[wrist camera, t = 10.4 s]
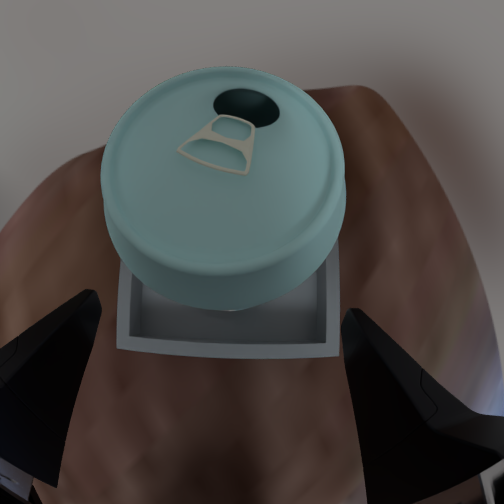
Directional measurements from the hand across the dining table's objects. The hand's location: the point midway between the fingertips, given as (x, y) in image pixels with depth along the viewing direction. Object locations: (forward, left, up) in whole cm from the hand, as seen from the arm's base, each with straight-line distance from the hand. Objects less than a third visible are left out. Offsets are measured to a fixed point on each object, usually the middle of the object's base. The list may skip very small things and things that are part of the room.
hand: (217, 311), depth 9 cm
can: (+4, 0, -8) cm, 9 cm away
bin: (+4, 0, -9) cm, 10 cm away
